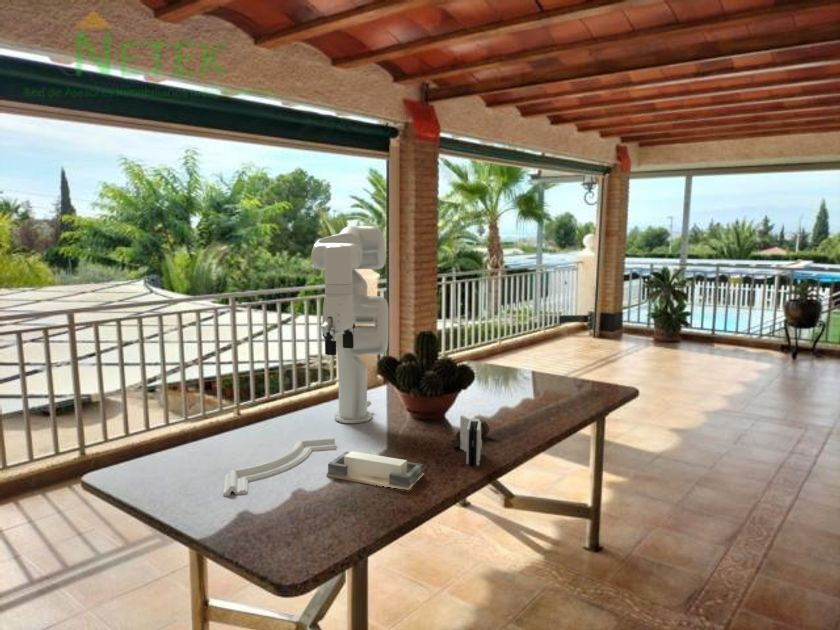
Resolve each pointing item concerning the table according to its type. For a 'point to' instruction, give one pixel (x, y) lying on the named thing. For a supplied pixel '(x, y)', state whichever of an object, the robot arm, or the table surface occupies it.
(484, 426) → the bolt
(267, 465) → the molding
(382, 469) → the slat
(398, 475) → the cream and grey fixture
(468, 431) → the hinge
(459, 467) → the table surface
